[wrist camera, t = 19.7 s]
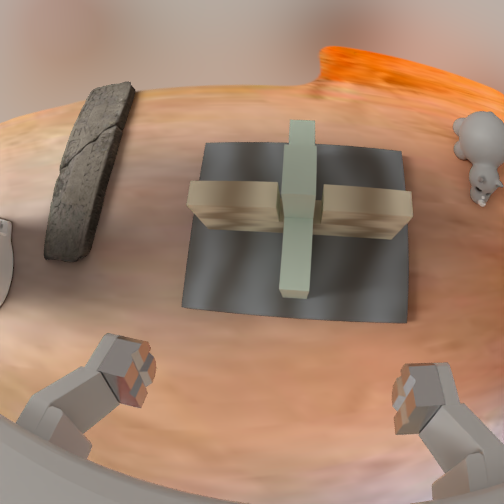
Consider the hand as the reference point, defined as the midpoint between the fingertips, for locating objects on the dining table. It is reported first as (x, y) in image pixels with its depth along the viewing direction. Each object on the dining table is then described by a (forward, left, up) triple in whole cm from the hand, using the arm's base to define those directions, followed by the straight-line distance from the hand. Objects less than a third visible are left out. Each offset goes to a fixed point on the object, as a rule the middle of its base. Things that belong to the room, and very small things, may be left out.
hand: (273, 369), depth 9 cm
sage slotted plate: (-4, +12, -23) cm, 26 cm away
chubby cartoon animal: (+14, +29, -25) cm, 40 cm away
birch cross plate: (-4, +12, -25) cm, 28 cm away
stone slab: (-37, +9, -25) cm, 46 cm away
